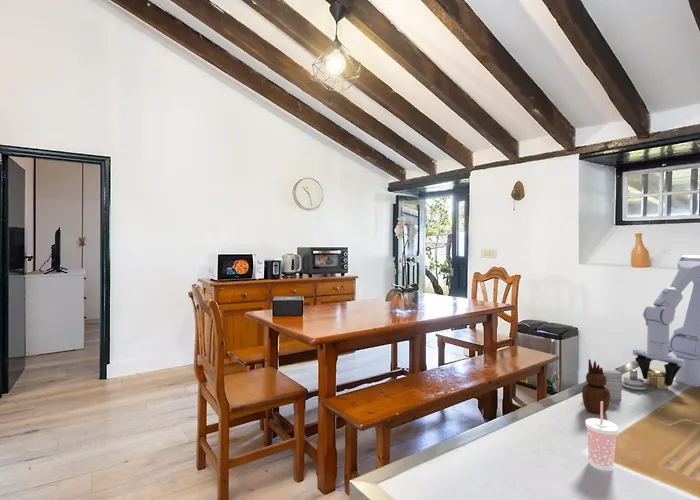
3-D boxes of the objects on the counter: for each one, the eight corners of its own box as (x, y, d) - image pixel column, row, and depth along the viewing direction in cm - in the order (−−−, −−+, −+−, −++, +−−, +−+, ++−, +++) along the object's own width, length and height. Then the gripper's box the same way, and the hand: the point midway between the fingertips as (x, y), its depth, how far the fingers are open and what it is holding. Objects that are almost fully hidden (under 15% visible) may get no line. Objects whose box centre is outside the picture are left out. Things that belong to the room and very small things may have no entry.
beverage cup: (587, 454, 91) (588, 394, 91) (619, 463, 88) (620, 400, 87) (582, 465, 87) (583, 402, 86) (616, 476, 83) (617, 410, 82)
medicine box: (613, 395, 126) (614, 368, 126) (621, 401, 122) (622, 373, 121) (587, 394, 127) (587, 367, 127) (594, 400, 122) (595, 372, 122)
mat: (635, 378, 141) (635, 377, 141) (667, 388, 132) (667, 387, 132) (606, 385, 134) (606, 384, 134) (639, 396, 125) (639, 395, 125)
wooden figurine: (582, 412, 114) (583, 360, 113) (581, 405, 119) (582, 355, 118) (610, 417, 110) (611, 363, 110) (608, 409, 116) (609, 358, 115)
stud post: (628, 381, 137) (628, 366, 137) (651, 388, 131) (651, 372, 131) (616, 385, 134) (616, 368, 134) (638, 392, 128) (638, 375, 128)
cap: (652, 382, 137) (653, 367, 137) (671, 387, 132) (671, 372, 132) (643, 384, 134) (643, 369, 134) (661, 390, 130) (662, 374, 129)
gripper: (627, 337, 138) (627, 376, 138) (676, 348, 124) (676, 391, 125) (639, 335, 141) (639, 373, 141) (688, 345, 128) (688, 387, 128)
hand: (657, 381), depth 133 cm, fingers open, 6 cm apart
